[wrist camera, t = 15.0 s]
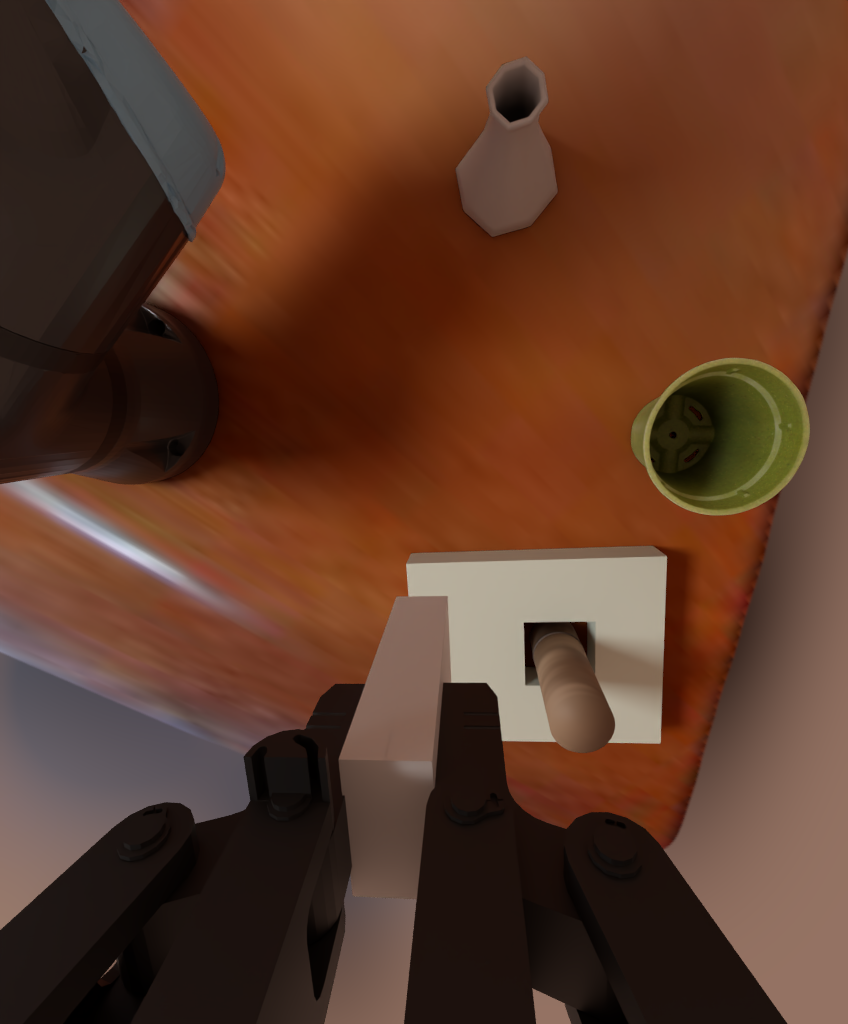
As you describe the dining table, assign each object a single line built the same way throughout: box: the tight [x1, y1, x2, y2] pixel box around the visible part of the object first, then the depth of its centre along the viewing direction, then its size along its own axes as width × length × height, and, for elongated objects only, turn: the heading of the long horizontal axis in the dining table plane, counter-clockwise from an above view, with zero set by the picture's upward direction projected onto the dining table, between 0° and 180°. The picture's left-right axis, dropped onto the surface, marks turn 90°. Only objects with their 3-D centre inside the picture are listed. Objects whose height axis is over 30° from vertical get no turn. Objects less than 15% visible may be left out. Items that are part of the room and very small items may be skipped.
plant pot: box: [631, 358, 810, 515], centre depth 33 cm, size 9×9×9 cm
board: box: [406, 546, 667, 743], centre depth 40 cm, size 20×16×3 cm
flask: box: [455, 57, 558, 237], centre depth 30 cm, size 7×7×10 cm
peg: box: [529, 622, 615, 753], centre depth 36 cm, size 4×4×12 cm
